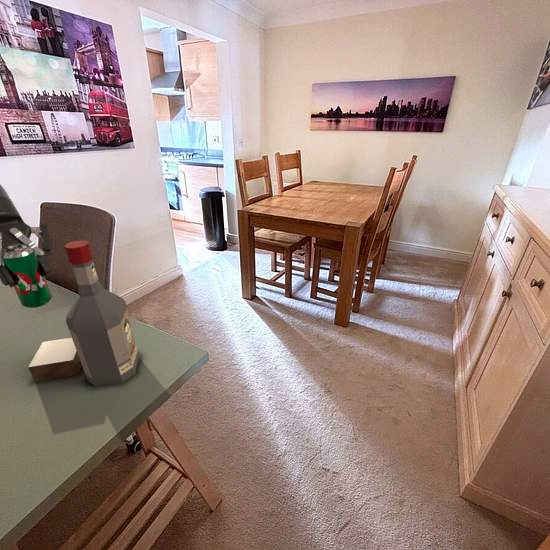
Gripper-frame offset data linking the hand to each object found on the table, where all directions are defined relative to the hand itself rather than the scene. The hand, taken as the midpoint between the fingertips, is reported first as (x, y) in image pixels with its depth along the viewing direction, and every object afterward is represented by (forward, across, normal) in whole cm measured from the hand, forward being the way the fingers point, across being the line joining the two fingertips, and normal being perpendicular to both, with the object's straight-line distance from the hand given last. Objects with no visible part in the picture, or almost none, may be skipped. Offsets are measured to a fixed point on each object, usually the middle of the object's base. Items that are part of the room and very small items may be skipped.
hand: (30, 279), depth 57 cm
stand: (+16, 0, +15) cm, 22 cm away
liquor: (+23, +6, +8) cm, 25 cm away
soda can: (+3, 0, +6) cm, 6 cm away
